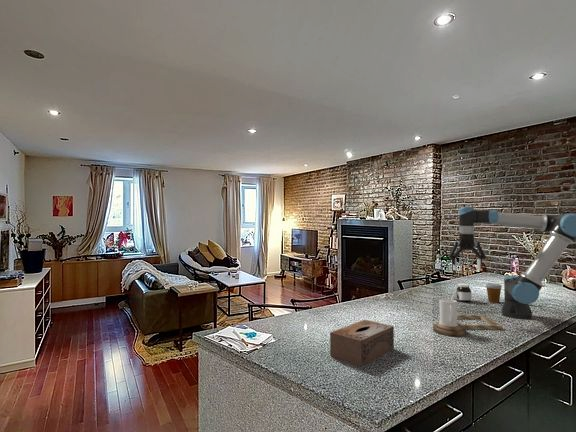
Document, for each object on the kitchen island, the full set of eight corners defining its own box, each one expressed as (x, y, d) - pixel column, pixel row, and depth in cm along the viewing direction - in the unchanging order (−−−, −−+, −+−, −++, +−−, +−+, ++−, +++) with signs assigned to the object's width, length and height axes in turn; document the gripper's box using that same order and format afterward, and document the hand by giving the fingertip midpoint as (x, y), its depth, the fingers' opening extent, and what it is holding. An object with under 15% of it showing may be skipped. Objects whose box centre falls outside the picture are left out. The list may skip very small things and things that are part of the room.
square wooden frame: (481, 318, 195) (481, 314, 195) (502, 329, 174) (502, 325, 174) (444, 318, 195) (444, 314, 195) (461, 329, 175) (461, 325, 175)
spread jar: (473, 303, 232) (473, 285, 232) (456, 303, 232) (456, 285, 233) (464, 299, 244) (464, 282, 244) (448, 299, 244) (448, 282, 244)
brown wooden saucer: (457, 327, 179) (457, 320, 179) (472, 336, 164) (472, 329, 164) (428, 326, 179) (428, 320, 179) (440, 336, 164) (440, 329, 164)
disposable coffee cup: (486, 299, 241) (486, 282, 241) (502, 301, 236) (502, 284, 236) (485, 302, 233) (484, 284, 234) (501, 304, 228) (501, 286, 228)
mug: (460, 329, 164) (460, 304, 164) (440, 328, 167) (440, 303, 167) (456, 322, 175) (456, 299, 175) (438, 321, 178) (438, 298, 178)
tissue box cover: (360, 367, 130) (360, 340, 130) (330, 356, 140) (330, 332, 140) (393, 349, 148) (393, 326, 148) (364, 341, 158) (364, 319, 159)
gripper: (485, 233, 202) (485, 269, 202) (442, 233, 203) (442, 269, 202) (492, 233, 195) (492, 271, 194) (447, 233, 195) (448, 271, 195)
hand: (467, 270), depth 198 cm, fingers open, 13 cm apart
